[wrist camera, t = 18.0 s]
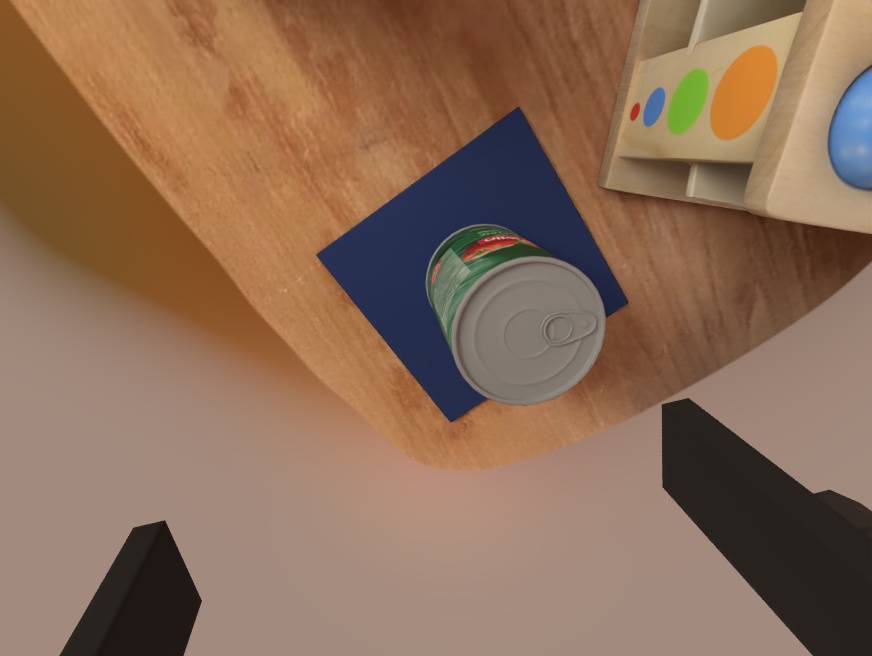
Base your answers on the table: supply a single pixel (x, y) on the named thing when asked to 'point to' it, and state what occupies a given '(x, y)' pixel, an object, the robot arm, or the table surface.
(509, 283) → the canned tomato
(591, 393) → the table surface
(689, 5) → the pounding bench toy
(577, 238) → the cloth
